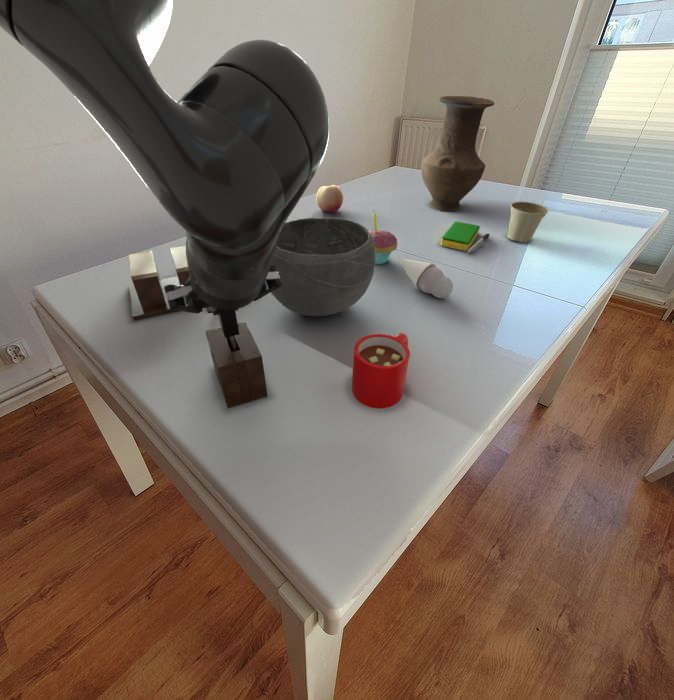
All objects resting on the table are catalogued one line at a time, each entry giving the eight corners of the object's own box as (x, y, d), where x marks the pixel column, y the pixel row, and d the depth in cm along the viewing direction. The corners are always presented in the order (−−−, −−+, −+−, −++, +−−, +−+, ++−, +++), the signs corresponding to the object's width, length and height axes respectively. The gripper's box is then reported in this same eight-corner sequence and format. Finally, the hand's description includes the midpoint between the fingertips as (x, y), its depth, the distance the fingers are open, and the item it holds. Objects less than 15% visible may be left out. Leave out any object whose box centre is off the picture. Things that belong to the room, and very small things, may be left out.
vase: (452, 220, 115) (477, 104, 96) (403, 204, 126) (417, 97, 107) (485, 207, 126) (514, 99, 107) (438, 193, 136) (456, 93, 118)
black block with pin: (236, 391, 57) (216, 294, 47) (231, 379, 59) (211, 283, 49) (249, 387, 58) (232, 290, 47) (244, 375, 60) (226, 280, 49)
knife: (467, 258, 95) (469, 250, 94) (464, 257, 95) (466, 249, 94) (488, 240, 104) (490, 233, 103) (485, 239, 105) (487, 232, 103)
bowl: (380, 288, 82) (387, 220, 73) (356, 345, 67) (361, 268, 57) (290, 274, 87) (286, 208, 77) (248, 324, 71) (236, 249, 62)
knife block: (227, 409, 55) (217, 367, 50) (215, 370, 61) (205, 330, 56) (267, 396, 57) (262, 355, 52) (251, 360, 63) (245, 321, 58)
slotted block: (133, 321, 71) (118, 282, 66) (130, 289, 80) (117, 253, 75) (219, 303, 77) (211, 266, 71) (207, 275, 86) (199, 240, 80)
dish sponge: (478, 233, 108) (480, 225, 106) (466, 251, 98) (468, 242, 96) (453, 228, 110) (455, 220, 109) (439, 245, 101) (441, 237, 99)
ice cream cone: (393, 272, 88) (444, 308, 81) (383, 264, 83) (436, 301, 76) (409, 250, 86) (462, 284, 80) (400, 240, 81) (456, 276, 74)
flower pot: (515, 229, 111) (525, 199, 105) (544, 240, 105) (556, 209, 99) (494, 236, 107) (503, 204, 101) (523, 248, 100) (534, 215, 95)
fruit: (332, 205, 124) (333, 179, 119) (347, 212, 119) (348, 186, 114) (312, 209, 121) (311, 183, 116) (325, 217, 115) (326, 190, 110)
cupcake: (357, 265, 91) (360, 215, 83) (364, 250, 97) (367, 203, 90) (393, 269, 89) (399, 219, 82) (397, 254, 96) (403, 206, 88)
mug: (422, 370, 62) (430, 331, 57) (387, 416, 54) (394, 376, 49) (379, 353, 65) (384, 314, 60) (341, 394, 57) (343, 354, 52)
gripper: (287, 213, 38) (264, 271, 55) (140, 234, 34) (163, 290, 50) (308, 283, 38) (278, 320, 54) (162, 314, 33) (178, 344, 50)
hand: (223, 306), depth 52 cm, fingers closed on black block with pin, 2 cm apart
